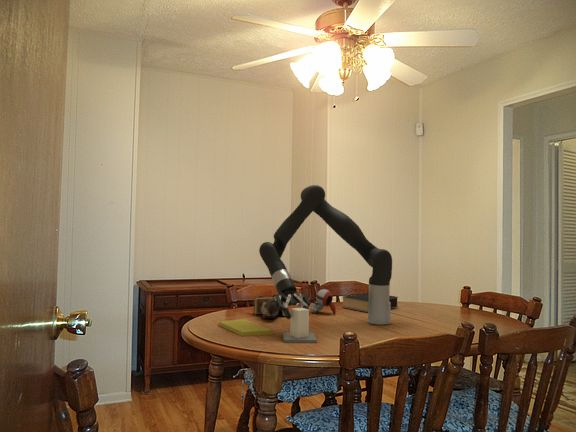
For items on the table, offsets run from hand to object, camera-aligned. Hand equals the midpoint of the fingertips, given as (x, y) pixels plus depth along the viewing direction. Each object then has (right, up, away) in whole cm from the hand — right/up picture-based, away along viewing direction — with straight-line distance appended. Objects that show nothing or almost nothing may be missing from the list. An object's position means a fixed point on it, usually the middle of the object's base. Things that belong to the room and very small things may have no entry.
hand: (299, 317), depth 169 cm
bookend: (-12, -9, +39) cm, 42 cm away
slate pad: (0, -8, -1) cm, 8 cm away
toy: (+11, -10, +53) cm, 55 cm away
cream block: (0, -7, 0) cm, 7 cm away
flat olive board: (-22, -9, +12) cm, 26 cm away
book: (+40, -12, +70) cm, 82 cm away
